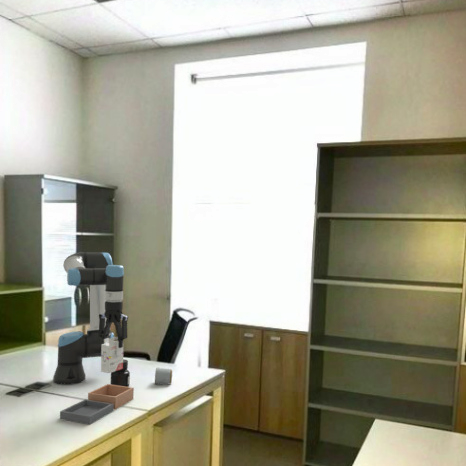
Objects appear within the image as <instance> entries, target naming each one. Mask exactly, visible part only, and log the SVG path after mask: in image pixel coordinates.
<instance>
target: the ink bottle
mask: <svg viewBox="0 0 466 466" xmlns="http://www.w3.org/2000/svg"><path fill="white" fill-rule="evenodd" d="M128 362H129V361H128V359H124V358H123V369H120V370H117V371H114V372H111V373H110V383H109V384H111V385H118V386H125V387H130V379H131V377H130V375H131V372H130V371H129V370H128V368H129V367H128V364H129V363H128Z"/></svg>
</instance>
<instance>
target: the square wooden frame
mask: <svg viewBox="0 0 466 466" xmlns="http://www.w3.org/2000/svg"><path fill="white" fill-rule="evenodd" d="M134 390H135V389H134V387H131V386H128V387H125V386H118V385H111V384H110V383H106V384H104V385H103V386H100V387H98V388H95V389H94V390H92V391H89V392H88V395H87V396H88V397H87V400H93V401H99V402H105V403H111V404H114V406H113V410H117V409H119V408H120V407H123V406H124V405H126V404H127V403H129V402H131V401H132V400H134V395H135V394H134V393H135V392H134Z"/></svg>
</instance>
